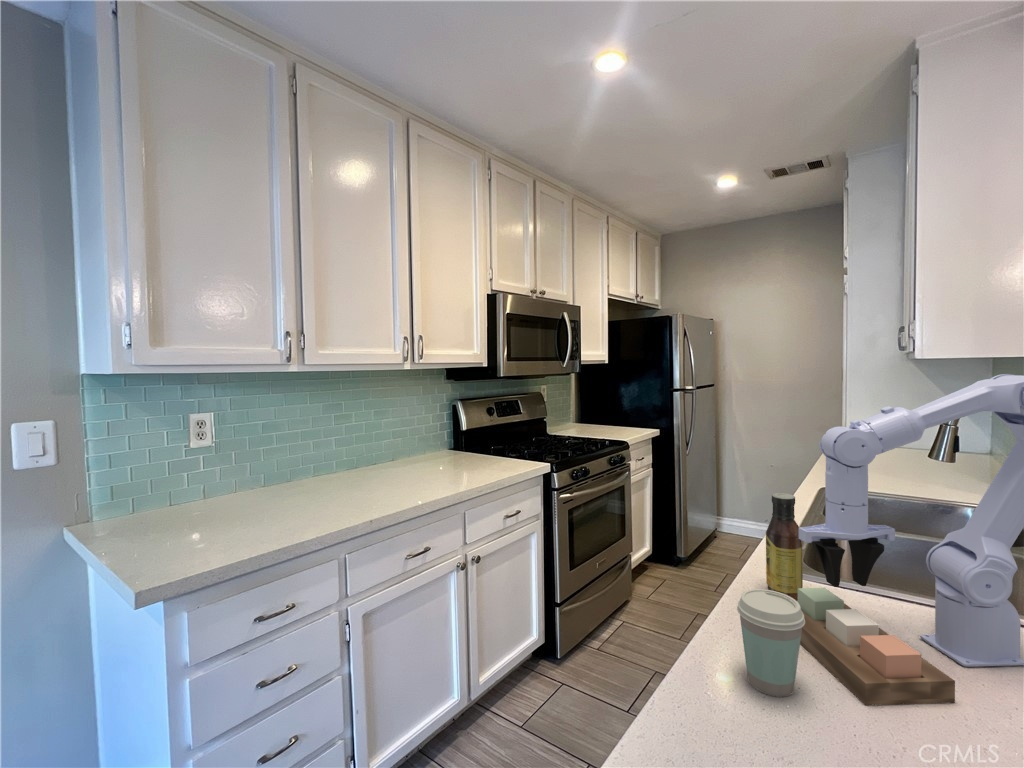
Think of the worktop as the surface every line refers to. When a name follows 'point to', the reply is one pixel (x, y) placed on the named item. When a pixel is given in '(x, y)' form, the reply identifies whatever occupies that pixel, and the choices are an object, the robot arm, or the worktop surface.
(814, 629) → the walnut button board
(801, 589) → the sage green button
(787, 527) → the sauce bottle
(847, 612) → the cream button
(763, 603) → the coffee cup
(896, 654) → the terracotta button
